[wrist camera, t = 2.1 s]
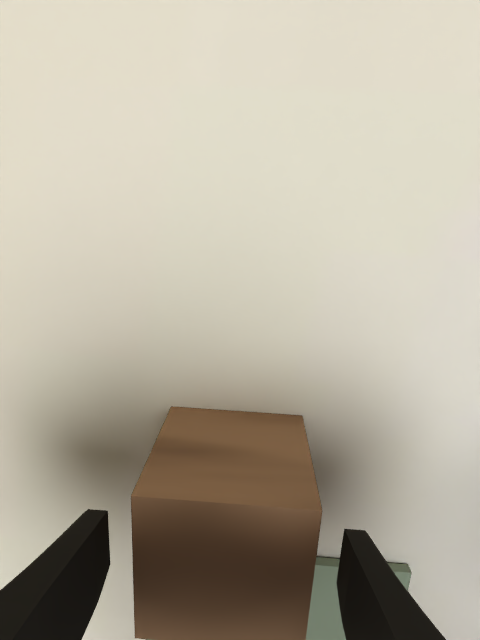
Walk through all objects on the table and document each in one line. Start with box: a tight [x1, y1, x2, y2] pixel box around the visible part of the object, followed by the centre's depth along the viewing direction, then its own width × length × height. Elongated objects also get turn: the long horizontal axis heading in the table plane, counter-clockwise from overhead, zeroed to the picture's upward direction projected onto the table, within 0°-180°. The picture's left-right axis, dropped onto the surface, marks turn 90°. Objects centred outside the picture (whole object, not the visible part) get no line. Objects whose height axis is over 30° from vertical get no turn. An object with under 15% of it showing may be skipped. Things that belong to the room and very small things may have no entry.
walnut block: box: [131, 407, 322, 640], centre depth 13 cm, size 5×5×5 cm
